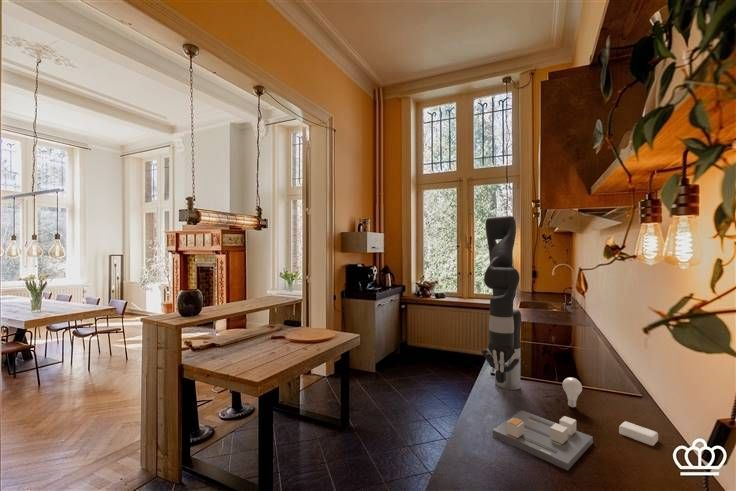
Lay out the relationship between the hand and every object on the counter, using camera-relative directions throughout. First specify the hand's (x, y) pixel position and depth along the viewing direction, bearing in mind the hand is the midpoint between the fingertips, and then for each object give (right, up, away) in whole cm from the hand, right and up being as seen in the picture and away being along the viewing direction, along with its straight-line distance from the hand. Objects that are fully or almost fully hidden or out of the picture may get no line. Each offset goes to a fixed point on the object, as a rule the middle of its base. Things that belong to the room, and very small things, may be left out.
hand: (501, 382), depth 112 cm
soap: (+43, -17, -2) cm, 47 cm away
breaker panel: (+11, -17, -3) cm, 21 cm away
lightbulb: (+34, -17, +18) cm, 42 cm away
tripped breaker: (+3, -14, -4) cm, 15 cm away
